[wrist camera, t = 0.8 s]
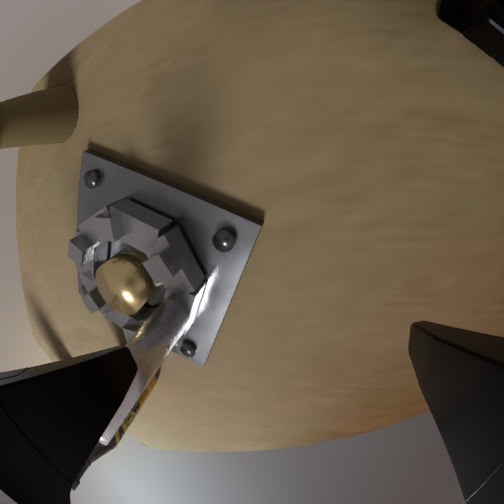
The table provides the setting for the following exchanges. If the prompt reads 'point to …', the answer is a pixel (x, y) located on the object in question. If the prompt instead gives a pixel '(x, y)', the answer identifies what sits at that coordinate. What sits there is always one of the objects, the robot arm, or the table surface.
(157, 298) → the flange plate
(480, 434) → the robot arm
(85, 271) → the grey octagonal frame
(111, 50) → the table surface
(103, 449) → the sauce bottle
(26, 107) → the cork
